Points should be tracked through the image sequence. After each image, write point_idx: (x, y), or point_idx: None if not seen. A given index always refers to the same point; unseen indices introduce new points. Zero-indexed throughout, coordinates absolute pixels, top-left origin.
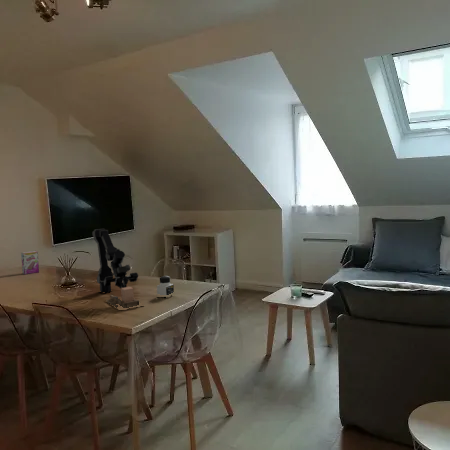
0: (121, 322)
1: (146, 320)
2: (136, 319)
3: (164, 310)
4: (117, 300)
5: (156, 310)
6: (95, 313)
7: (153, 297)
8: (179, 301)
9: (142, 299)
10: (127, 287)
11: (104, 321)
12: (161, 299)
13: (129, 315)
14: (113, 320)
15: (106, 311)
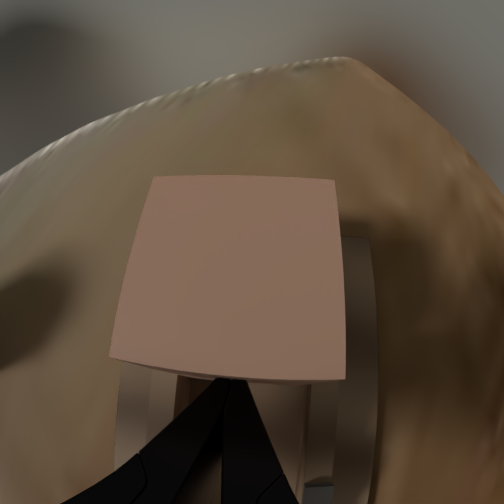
0: (382, 98)
1: (282, 68)
2: (314, 88)
3: (140, 117)
4: (332, 440)
5: (163, 131)
6: (500, 306)
7: (3, 395)
8: (6, 205)
9: (62, 428)
10: (186, 324)
11: (451, 148)
12: (3, 307)
13: (328, 137)
14: (415, 132)
15: (447, 307)
